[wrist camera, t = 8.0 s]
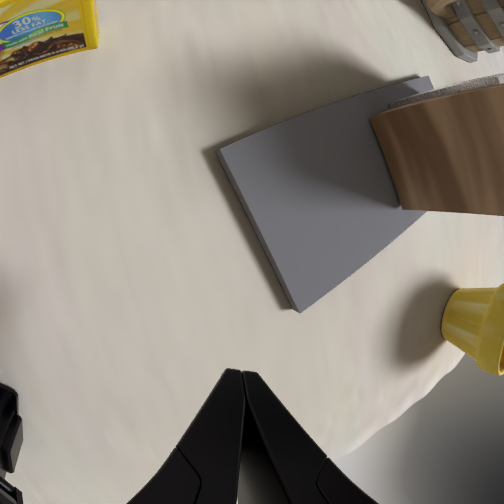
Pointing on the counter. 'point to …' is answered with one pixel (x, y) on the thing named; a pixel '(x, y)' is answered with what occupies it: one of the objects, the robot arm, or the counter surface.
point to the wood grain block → (447, 151)
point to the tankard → (468, 25)
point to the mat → (321, 191)
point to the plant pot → (477, 325)
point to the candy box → (44, 31)
